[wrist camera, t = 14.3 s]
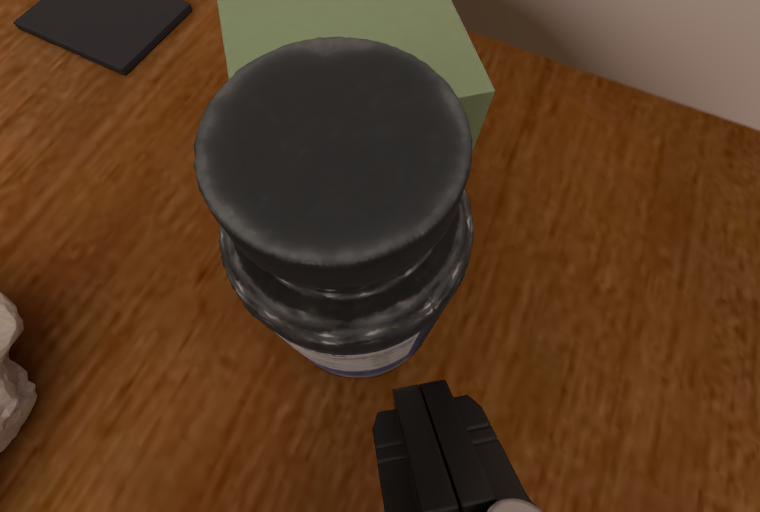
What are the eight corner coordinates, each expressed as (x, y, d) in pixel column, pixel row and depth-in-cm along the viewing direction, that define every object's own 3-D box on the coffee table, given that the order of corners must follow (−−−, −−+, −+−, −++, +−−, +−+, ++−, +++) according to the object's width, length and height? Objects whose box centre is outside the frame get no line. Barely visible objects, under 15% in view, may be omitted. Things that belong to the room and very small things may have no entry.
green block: (407, 81, 22) (421, -63, 15) (454, 203, 19) (495, 90, 12) (262, 108, 21) (211, -32, 14) (287, 241, 18) (237, 140, 11)
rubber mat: (193, 10, 24) (190, 3, 23) (125, 75, 22) (121, 69, 21) (90, -31, 25) (86, -37, 25) (18, 28, 23) (12, 21, 22)
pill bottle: (352, 216, 18) (323, -36, 8) (459, 295, 17) (588, 110, 7) (257, 317, 16) (64, 152, 6) (369, 415, 15) (356, 410, 5)
